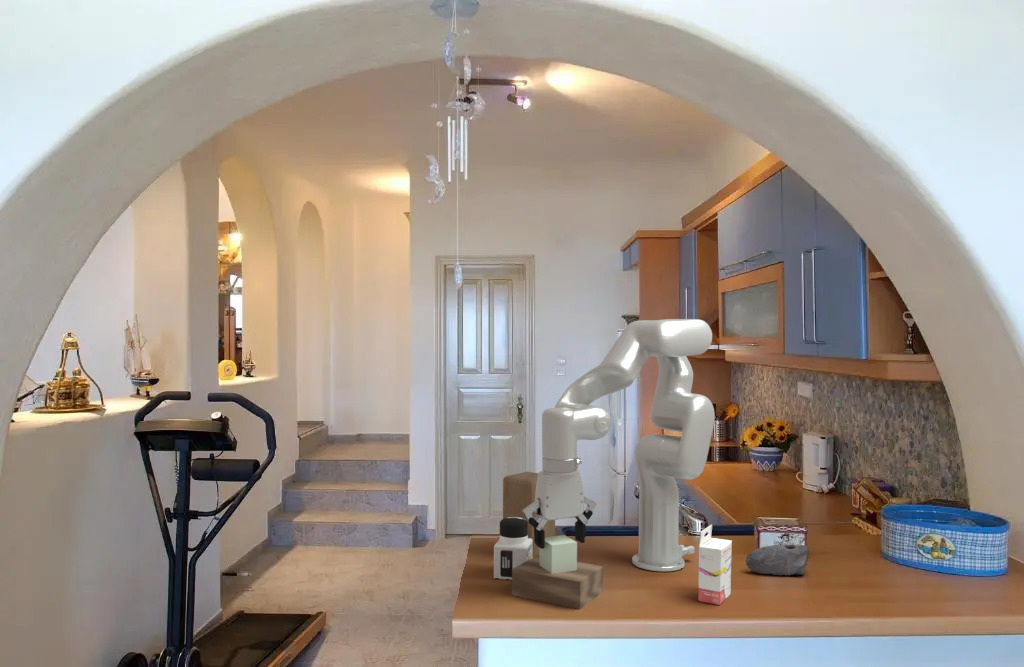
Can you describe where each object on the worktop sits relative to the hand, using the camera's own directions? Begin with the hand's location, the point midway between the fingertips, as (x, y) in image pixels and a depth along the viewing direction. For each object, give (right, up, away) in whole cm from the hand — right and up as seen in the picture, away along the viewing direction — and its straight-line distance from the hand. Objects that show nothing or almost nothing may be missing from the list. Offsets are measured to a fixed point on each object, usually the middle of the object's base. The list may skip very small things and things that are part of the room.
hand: (560, 544), depth 164 cm
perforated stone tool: (+52, -11, +14) cm, 55 cm away
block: (-6, -11, +28) cm, 30 cm away
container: (-10, -11, +12) cm, 19 cm away
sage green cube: (-1, -5, 0) cm, 5 cm away
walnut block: (-1, -11, 0) cm, 11 cm away
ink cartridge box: (+33, -11, -2) cm, 35 cm away
